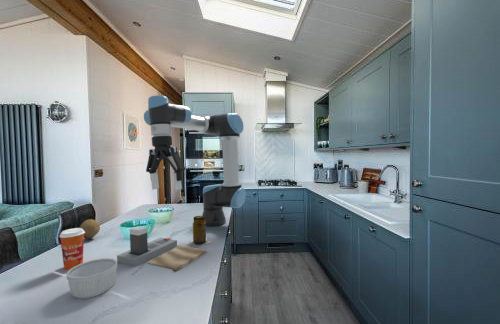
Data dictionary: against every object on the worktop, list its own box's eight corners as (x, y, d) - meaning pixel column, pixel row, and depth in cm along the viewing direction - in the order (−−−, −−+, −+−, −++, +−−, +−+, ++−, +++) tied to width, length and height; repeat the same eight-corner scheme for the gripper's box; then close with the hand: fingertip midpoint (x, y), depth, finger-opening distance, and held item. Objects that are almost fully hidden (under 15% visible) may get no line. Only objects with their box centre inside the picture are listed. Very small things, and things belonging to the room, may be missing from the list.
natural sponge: (104, 237, 124) (103, 218, 123) (86, 243, 116) (85, 222, 116) (94, 235, 128) (93, 216, 128) (75, 240, 120) (74, 220, 120)
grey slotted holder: (160, 243, 113) (160, 236, 113) (177, 246, 109) (177, 239, 109) (117, 263, 93) (117, 254, 93) (135, 267, 89) (134, 258, 89)
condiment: (202, 238, 120) (202, 214, 119) (211, 242, 113) (210, 217, 113) (189, 241, 115) (188, 216, 115) (197, 246, 109) (196, 220, 108)
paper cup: (58, 274, 85) (56, 235, 85) (63, 265, 92) (61, 229, 92) (84, 269, 89) (83, 231, 88) (87, 261, 96) (86, 226, 95)
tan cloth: (180, 247, 108) (180, 245, 108) (206, 252, 102) (206, 250, 102) (147, 264, 92) (147, 261, 92) (176, 271, 86) (176, 268, 86)
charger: (139, 255, 99) (138, 226, 99) (147, 256, 97) (146, 227, 97) (130, 258, 96) (129, 228, 95) (139, 261, 94) (138, 230, 93)
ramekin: (61, 306, 67) (60, 281, 67) (74, 283, 79) (73, 262, 79) (115, 294, 72) (114, 271, 72) (119, 274, 84) (119, 255, 84)
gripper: (133, 138, 98) (138, 190, 99) (176, 132, 86) (181, 191, 87) (149, 138, 105) (154, 187, 106) (191, 132, 92) (196, 187, 93)
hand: (166, 189), depth 96 cm, fingers open, 13 cm apart
